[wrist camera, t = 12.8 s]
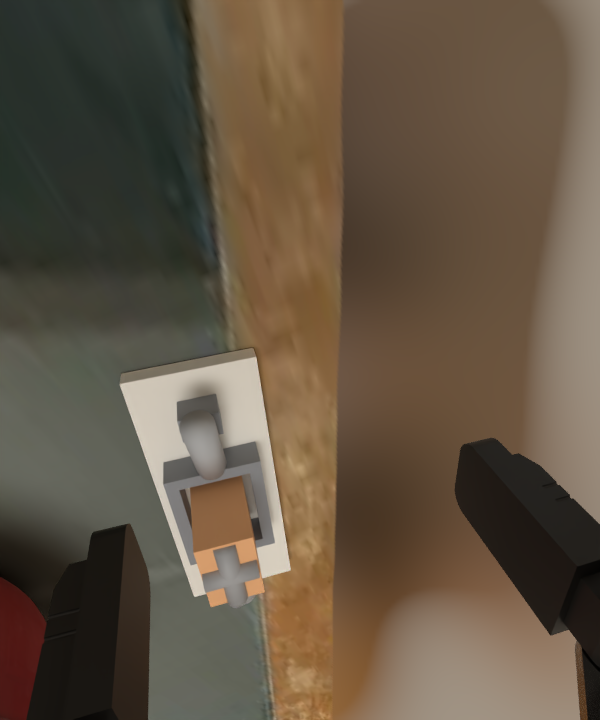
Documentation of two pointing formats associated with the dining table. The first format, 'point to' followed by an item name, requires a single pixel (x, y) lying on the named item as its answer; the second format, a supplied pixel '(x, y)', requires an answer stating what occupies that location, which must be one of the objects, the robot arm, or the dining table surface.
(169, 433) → the shaft rig
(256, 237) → the dining table surface
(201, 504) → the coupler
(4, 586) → the mixing bowl
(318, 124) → the dining table surface
